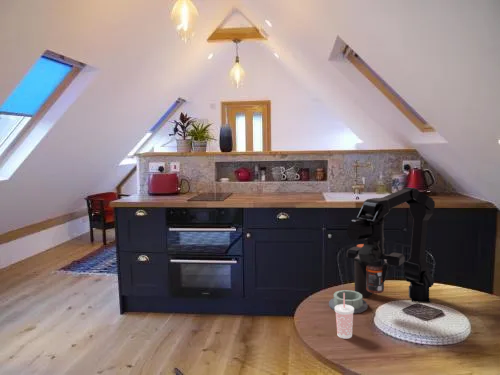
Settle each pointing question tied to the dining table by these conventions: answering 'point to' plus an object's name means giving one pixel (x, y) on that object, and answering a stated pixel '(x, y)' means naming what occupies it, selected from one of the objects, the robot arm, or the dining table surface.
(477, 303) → the dining table surface
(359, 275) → the vinegar
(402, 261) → the robot arm
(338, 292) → the can holder
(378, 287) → the supplement bottle
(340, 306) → the beverage cup
